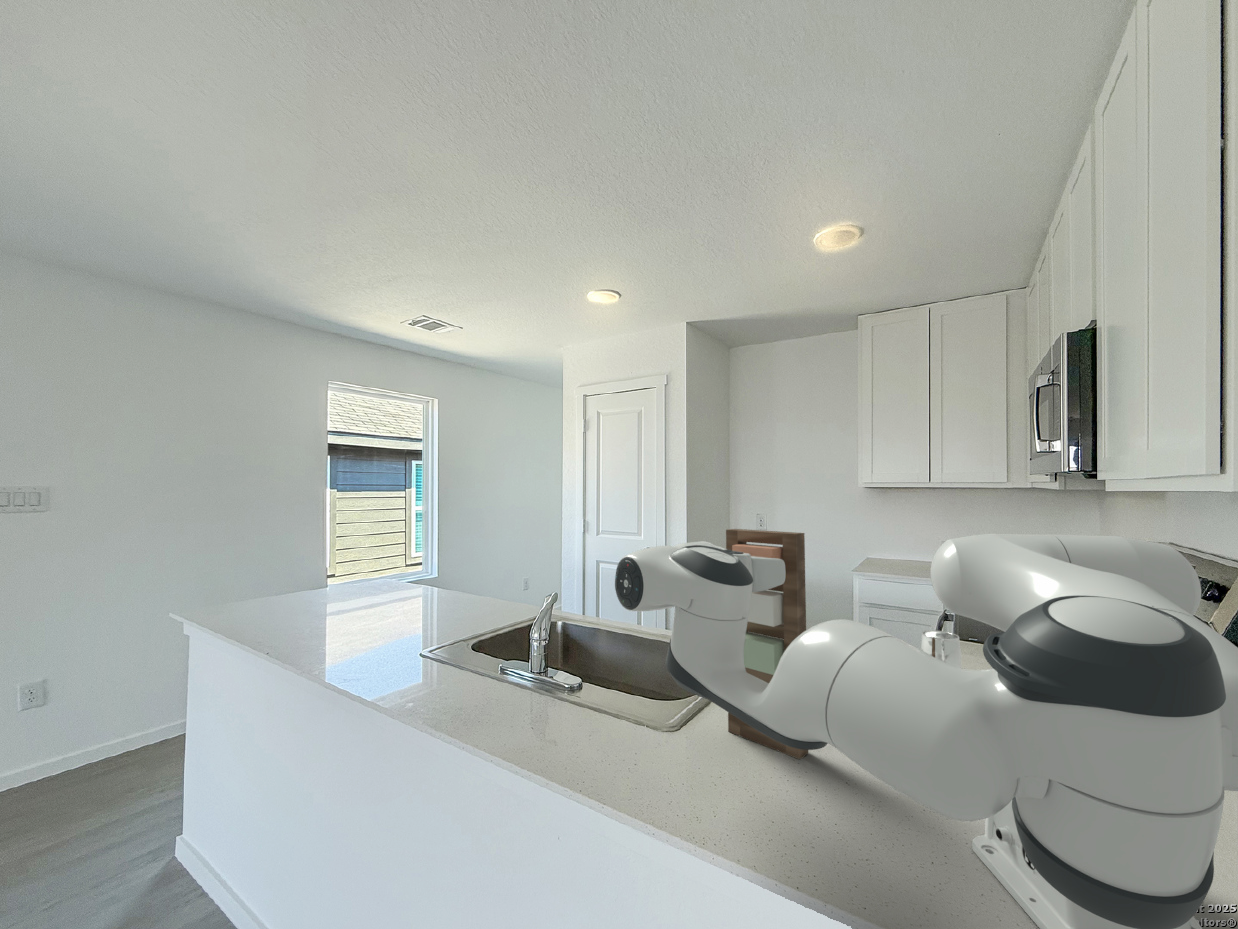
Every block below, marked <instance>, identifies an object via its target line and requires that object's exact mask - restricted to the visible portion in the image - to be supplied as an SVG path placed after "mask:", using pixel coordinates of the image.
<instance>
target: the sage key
mask: <svg viewBox="0 0 1238 929" xmlns="http://www.w3.org/2000/svg"><path fill="white" fill-rule="evenodd" d="M783 653H784V639H779V638H775V637H770V636H766V635H761V634H756V633H752V632H746V638H745V645H744V665H745V667H746V668H750V669H753V670H757V671H760V672H764V673H768V674H771V675H774V673H775V671H776V669H777V666H778V664H779V661H780V659H781V657H782V655H783Z"/></svg>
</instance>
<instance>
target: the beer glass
mask: <svg viewBox="0 0 1238 929" xmlns="http://www.w3.org/2000/svg"><path fill="white" fill-rule="evenodd" d="M920 642H921V644H920V650H922V651H924V652H926V653H928V654H929V655H931V656H933V657H935V658H937V659H939V660H941V661H943V662H946V663H948V664H951V665H953V666H956V667H960V668H962V650H961V644H960V643H961V642H960V636H959V634H956V633H953V632H948V631H944V630H943V631H942V630H936V629H933V630H932V629H930V630H923V631H922V632H921V640H920Z"/></svg>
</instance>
